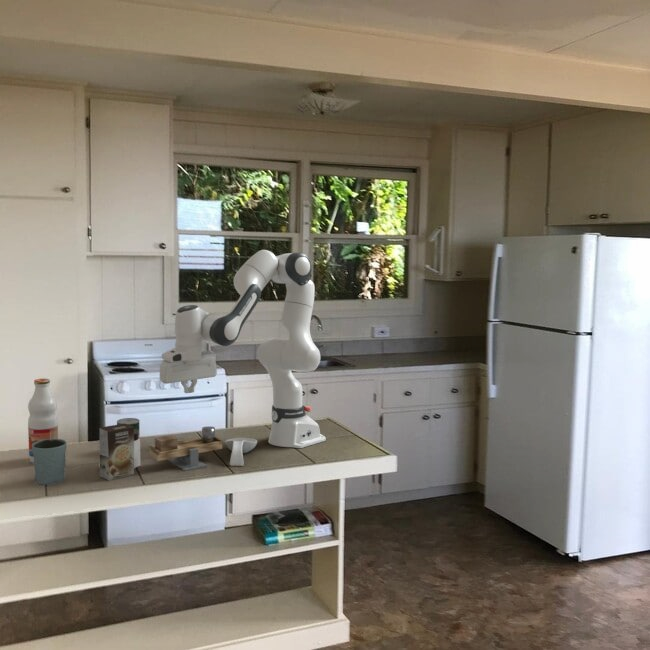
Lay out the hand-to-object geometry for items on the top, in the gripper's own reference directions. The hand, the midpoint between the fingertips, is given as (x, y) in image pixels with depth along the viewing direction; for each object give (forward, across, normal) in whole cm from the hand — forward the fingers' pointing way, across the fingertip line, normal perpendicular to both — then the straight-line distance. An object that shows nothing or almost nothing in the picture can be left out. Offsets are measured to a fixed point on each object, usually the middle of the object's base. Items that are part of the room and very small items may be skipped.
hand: (189, 392), depth 244 cm
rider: (+18, +10, +3) cm, 21 cm away
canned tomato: (+24, +14, -21) cm, 35 cm away
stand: (+24, +3, +3) cm, 24 cm away
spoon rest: (+25, -17, +6) cm, 30 cm away
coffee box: (+23, +27, +2) cm, 36 cm away
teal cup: (+23, +46, -5) cm, 52 cm away
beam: (+19, +3, +3) cm, 19 cm away
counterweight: (+18, -6, +3) cm, 19 cm away
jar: (+24, +21, -5) cm, 32 cm away
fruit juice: (+23, +42, -26) cm, 55 cm away
